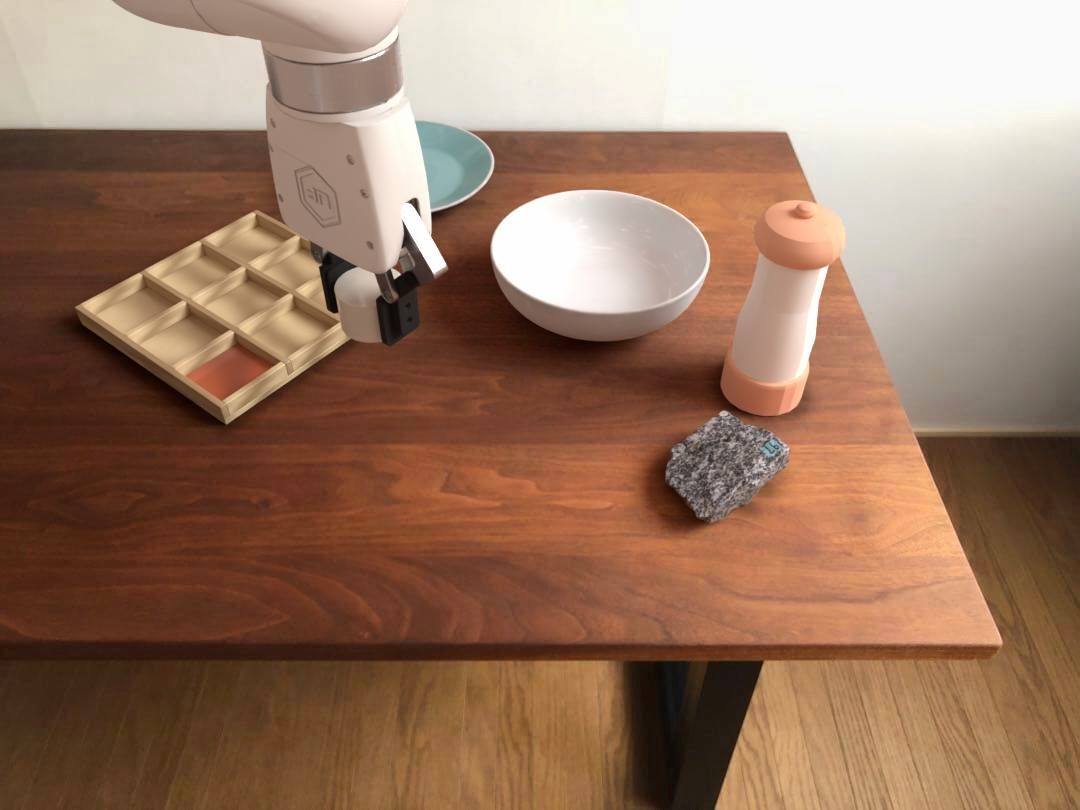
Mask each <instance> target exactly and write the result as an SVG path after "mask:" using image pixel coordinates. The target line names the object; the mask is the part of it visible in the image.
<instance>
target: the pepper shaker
mask: <svg viewBox="0 0 1080 810" xmlns="http://www.w3.org/2000/svg"><path fill="white" fill-rule="evenodd" d="M846 233H847V232H846V228H845V225H844V224H843V221H842V220H841V218H840V217H839V215H838V214H836V213H835V212H834V211H833V210H831V208H828V207H826V206H824V205H822V204H819V203H816V202H813V201H807V200H799V199H796V200H795V199H794V200H793V199H792V200H784V201H779V202H776V203H774V204H773V205H771V206H769V207H768V208H767V209H766V210H765V211H763V212H762V214H760V216H759V218H758V219H757V220H756V223H755V224H754V228H753V237H754V238H753V239H754V242H755V245H756V246H757V249H758V251H759V253H758V258H757V262H756V266H755V271H754V274H753V279H752V282H751V287H750V288H749V291H748V294H747V296H746V298H745V301H744V302H743V305H742V307H741V310H740V312H739V314H738V317H737V319H736V324H735V325H736V326H735V330H734V336H733V341H732V343H731V344H730V346H729V347H728V348H727V350H726V354H725V359H724V364H723V368H722V373H721V377H720V389H721V392H722V394H723V396H724V397H725V398H726V400H727V401H728V402H729V403H730V404H732V405H733V406H735V407H736V408H737V409H739V410H741V411H743V412H746V413H749V414H751V415H755V416H762V417H774V416H781V415H784V414H787V413H790V412H791V411H792V410H794V409H795V408H796V407H798V405H799V403H800V401H801V399H802V397H803V394H804V391H805V387H806V383H807V380H808V377H809V375H810V361H809V358H810V355H811V353H812V348H813V346H814V344H815V341H816V335H817V325H818V324H817V322H818V313H819V312H818V311H819V301H820V298H821V294H822V291H823V287H824V284H825V280H826V276H827V273H828V269H829V267H830V265H831V264H833V263H834V262H835V261H836V260H838V259H839V257H840V256H841V255H842V253H843V251H844V250H845V248H846V247H847V234H846Z"/></svg>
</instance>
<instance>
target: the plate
mask: <svg viewBox="0 0 1080 810" xmlns="http://www.w3.org/2000/svg"><path fill="white" fill-rule="evenodd" d="M414 120H415V124H416V128H417V133H418V137H419V141H420V146H421V150H422V155H423V160H424V166H425V171H426V178H427V184H428V191H429V200H430V209H431V214H433V213H437V212H440V211H444V210H446V209H449V208H452V207H455V206H457V205H460V204H461V203H463V202H465V201H467V200H468V199H470V198H471V197H474V195H476V194H477V193H478V192H480V191H481V190H482V188H484V187H485V186H486V184H487V183H488V181H489V180H490V178H491V177H492V175H493V172H494V169H495V157H494V154H493V151H492V150H491V148H490V147H489V145H487V143H486V142H485V141H484V140H482V139H481V138H480V137H479V136H477V135H476V134H474V133H472V132H471V131H469V130H467V129H464V128H462V127H459V126H456V125H454V124H450V123H445V122H441V121H434V120H427V119H426V120H424V119H414Z"/></svg>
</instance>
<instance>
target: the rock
mask: <svg viewBox="0 0 1080 810" xmlns="http://www.w3.org/2000/svg"><path fill="white" fill-rule="evenodd" d="M669 449H670V450H669V455H670V460H668V461H667V465H666V468H665V476H664V480H665V484H667V485H668V486H669V487H671V488H672V489H674V490H675V491H676V493H677V495H678V496H680V497H681V498H683V500H684V503H685V504H686V506H687V507H688V508H689V509H691V510H692V511H693V512H694V515H695V518H697V519H699V520H703V521H704V522H705V523H707V524H713V523H715V522H718V521H720V520H723V519H725V518H727V517H728V515H729V514H730V513H731V512H732V511H733V510H737V509H738V510H739V508H741V507H743V506H744V505H748V504H750V502H751V501H752V500H753V499H754V498H755V497H756V495H757V494H758V492H759V491H760V490H761V488H763V487H764V486H765V485H766V484H767V483H768V482H769V481H771V480H772V479H773V478H774V477H775V476H776V475H777V474H779V473H780V472H781V471H783V470H784V469H785V468H786V467H787V466H788V465H789V463H790V454H791V448H790V447H789V445H788V444H786V443H785V442H784V441H783V440H782V439H780V438H779V437H778V436H776V435H775V434H774V432H772V431H770V430H769V429H767V428H764V427H758V426H756V425H754V424H749V423H744V422H742V420H741V419H739V418H738V417H737V416H734V415H732V414H731V413H730V411H728V410H726V409H724V410H722V411H720V412H718V413H717V414H716V415H714V416H712V417H711V418H710V419H709V420H707V421H706V422H704V424H703V425H702V426H700V427H698V428H697V429H695V430H694V431H693V432H692V433H691V434H689V435H687V436H686V439H684V440H682V441H679V442H678V443H676V444H674V445H672V446H671V448H669Z"/></svg>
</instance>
